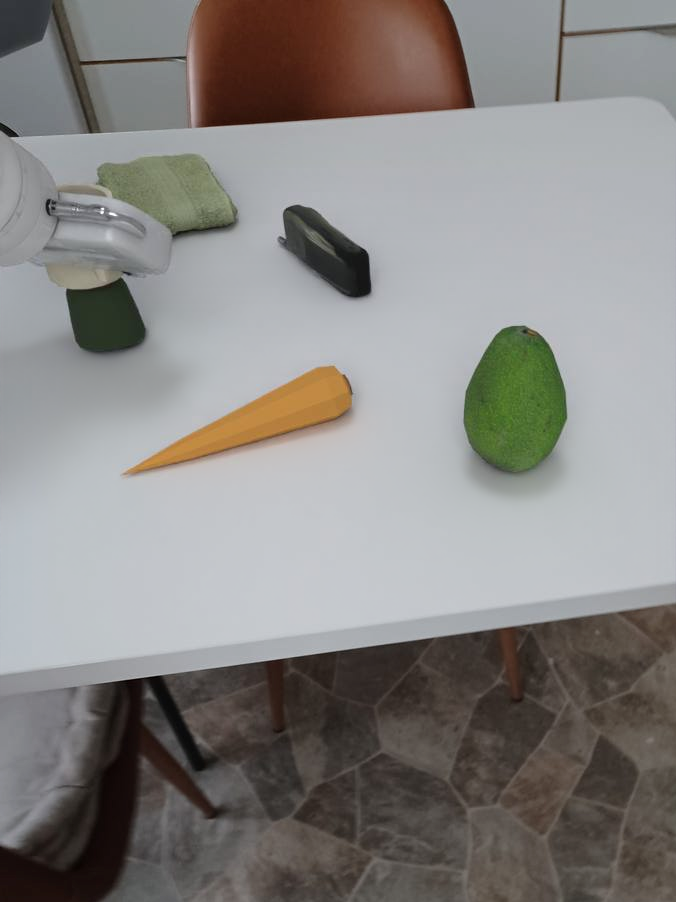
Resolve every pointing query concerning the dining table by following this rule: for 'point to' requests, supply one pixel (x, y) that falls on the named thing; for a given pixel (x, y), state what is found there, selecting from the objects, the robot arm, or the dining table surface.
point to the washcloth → (171, 191)
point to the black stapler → (326, 250)
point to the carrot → (265, 417)
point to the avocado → (515, 401)
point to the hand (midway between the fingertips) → (92, 263)
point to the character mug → (97, 296)
